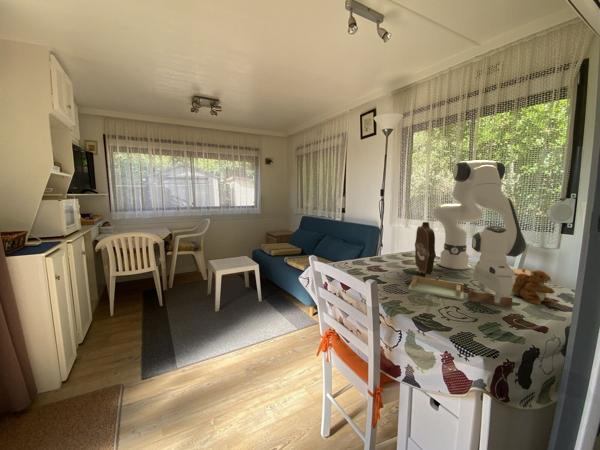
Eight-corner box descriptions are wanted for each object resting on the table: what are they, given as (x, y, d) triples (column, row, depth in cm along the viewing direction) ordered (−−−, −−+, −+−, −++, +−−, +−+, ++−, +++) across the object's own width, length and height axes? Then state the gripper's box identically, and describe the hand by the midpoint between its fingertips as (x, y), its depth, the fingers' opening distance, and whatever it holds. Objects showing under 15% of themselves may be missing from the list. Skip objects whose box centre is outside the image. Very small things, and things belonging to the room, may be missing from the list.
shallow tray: (411, 282, 127) (412, 273, 127) (463, 291, 116) (464, 281, 115) (408, 289, 118) (408, 279, 118) (463, 300, 106) (464, 289, 106)
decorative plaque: (434, 285, 124) (438, 225, 120) (427, 285, 125) (431, 225, 121) (418, 268, 153) (421, 219, 149) (413, 267, 154) (415, 219, 150)
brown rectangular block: (470, 301, 106) (471, 292, 105) (467, 297, 110) (468, 288, 110) (511, 307, 100) (512, 297, 100) (507, 302, 105) (508, 293, 104)
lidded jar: (528, 293, 115) (530, 273, 113) (502, 285, 124) (504, 266, 123) (541, 289, 118) (544, 270, 117) (515, 282, 128) (517, 264, 127)
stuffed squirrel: (540, 306, 101) (543, 275, 99) (503, 293, 114) (506, 265, 113) (557, 303, 103) (561, 273, 102) (519, 291, 117) (523, 263, 115)
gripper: (470, 259, 114) (468, 288, 116) (499, 272, 94) (495, 307, 96) (485, 259, 113) (482, 288, 115) (518, 273, 93) (514, 308, 95)
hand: (489, 297), depth 105 cm, fingers open, 8 cm apart
